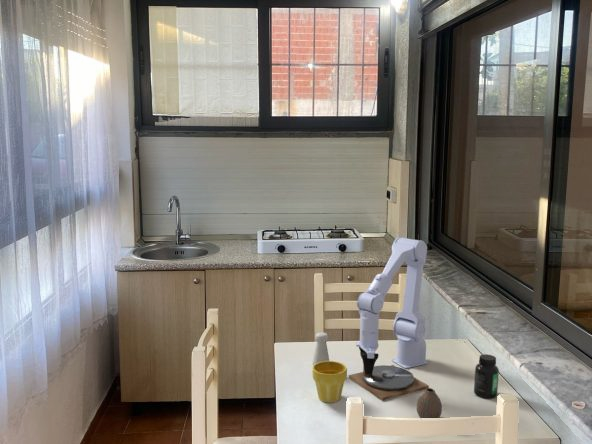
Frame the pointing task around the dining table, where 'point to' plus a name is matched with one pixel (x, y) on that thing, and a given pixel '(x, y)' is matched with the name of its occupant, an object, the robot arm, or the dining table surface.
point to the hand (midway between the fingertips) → (367, 371)
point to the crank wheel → (389, 378)
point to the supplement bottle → (486, 377)
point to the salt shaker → (321, 348)
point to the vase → (429, 404)
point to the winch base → (388, 394)
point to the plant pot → (329, 380)
